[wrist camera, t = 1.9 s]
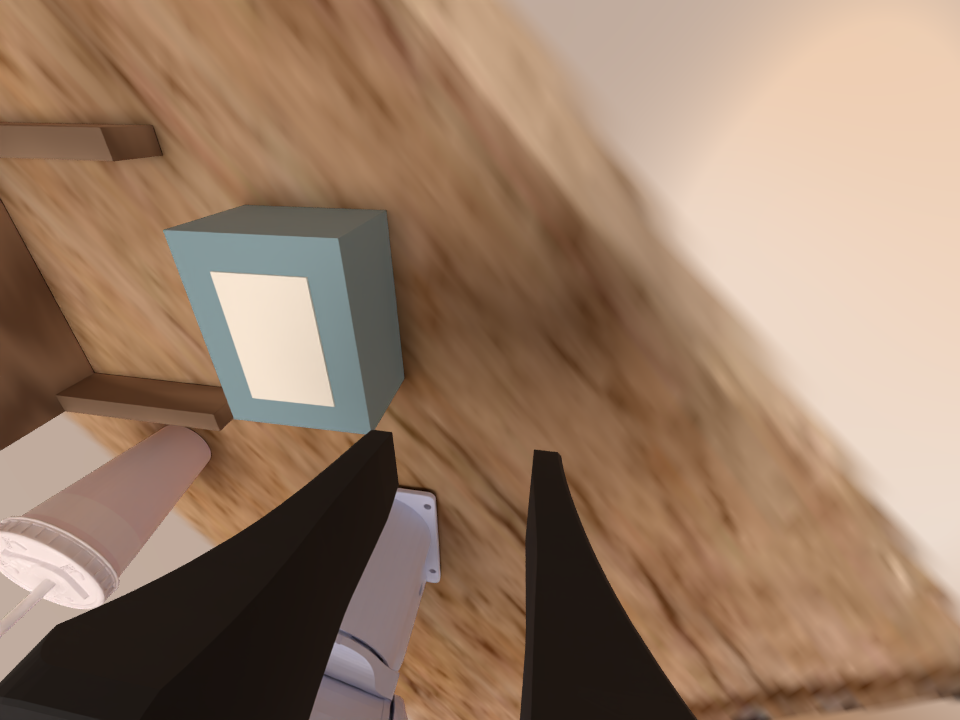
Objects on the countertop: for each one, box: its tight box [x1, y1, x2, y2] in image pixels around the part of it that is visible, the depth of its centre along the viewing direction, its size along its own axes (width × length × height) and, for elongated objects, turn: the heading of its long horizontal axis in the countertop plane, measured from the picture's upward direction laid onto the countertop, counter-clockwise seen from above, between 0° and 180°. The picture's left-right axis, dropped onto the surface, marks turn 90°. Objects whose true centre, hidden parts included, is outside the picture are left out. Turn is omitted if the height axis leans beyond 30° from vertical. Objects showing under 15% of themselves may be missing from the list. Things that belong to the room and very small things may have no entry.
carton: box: [163, 205, 405, 434], centre depth 20 cm, size 9×7×5 cm
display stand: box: [0, 122, 234, 450], centre depth 21 cm, size 15×12×6 cm
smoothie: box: [0, 425, 211, 637], centre depth 24 cm, size 6×6×14 cm
